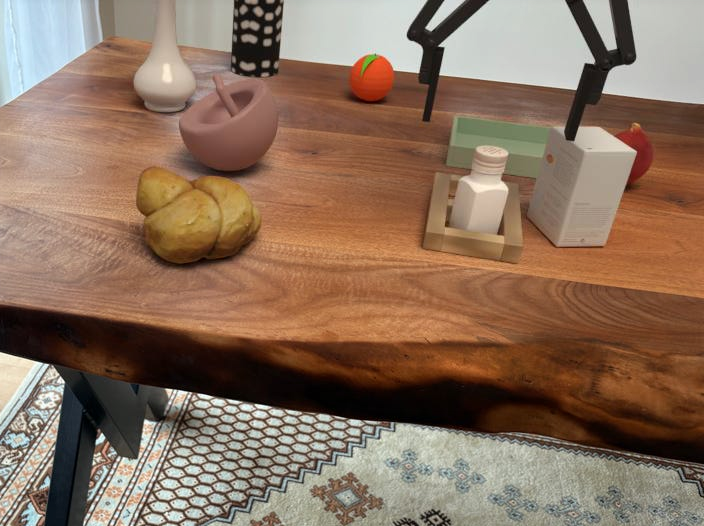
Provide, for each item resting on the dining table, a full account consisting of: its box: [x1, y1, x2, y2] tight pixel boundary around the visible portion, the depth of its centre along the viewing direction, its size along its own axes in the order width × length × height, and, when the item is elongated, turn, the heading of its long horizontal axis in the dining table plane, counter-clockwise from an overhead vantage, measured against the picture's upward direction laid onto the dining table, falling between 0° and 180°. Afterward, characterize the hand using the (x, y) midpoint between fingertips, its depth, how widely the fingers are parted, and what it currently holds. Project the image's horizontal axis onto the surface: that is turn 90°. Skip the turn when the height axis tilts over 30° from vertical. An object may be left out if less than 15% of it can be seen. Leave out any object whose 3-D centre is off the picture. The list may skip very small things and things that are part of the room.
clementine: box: [349, 53, 395, 102], centre depth 120 cm, size 8×7×7 cm
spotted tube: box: [230, 0, 285, 78], centre depth 128 cm, size 8×8×20 cm
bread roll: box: [135, 165, 263, 264], centre depth 75 cm, size 13×10×8 cm
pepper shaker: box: [448, 145, 509, 235], centre depth 80 cm, size 4×4×10 cm
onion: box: [613, 122, 654, 185], centre depth 94 cm, size 6×6×8 cm
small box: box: [526, 125, 637, 248], centre depth 82 cm, size 8×6×10 cm
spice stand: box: [422, 171, 524, 265], centre depth 85 cm, size 10×17×2 cm, turn 164°
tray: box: [445, 114, 552, 179], centre depth 103 cm, size 15×13×3 cm
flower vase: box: [132, 0, 198, 113], centre depth 109 cm, size 13×18×25 cm
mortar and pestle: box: [178, 72, 279, 172], centre depth 93 cm, size 12×12×11 cm
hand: (496, 127), depth 76 cm, fingers open, 13 cm apart
